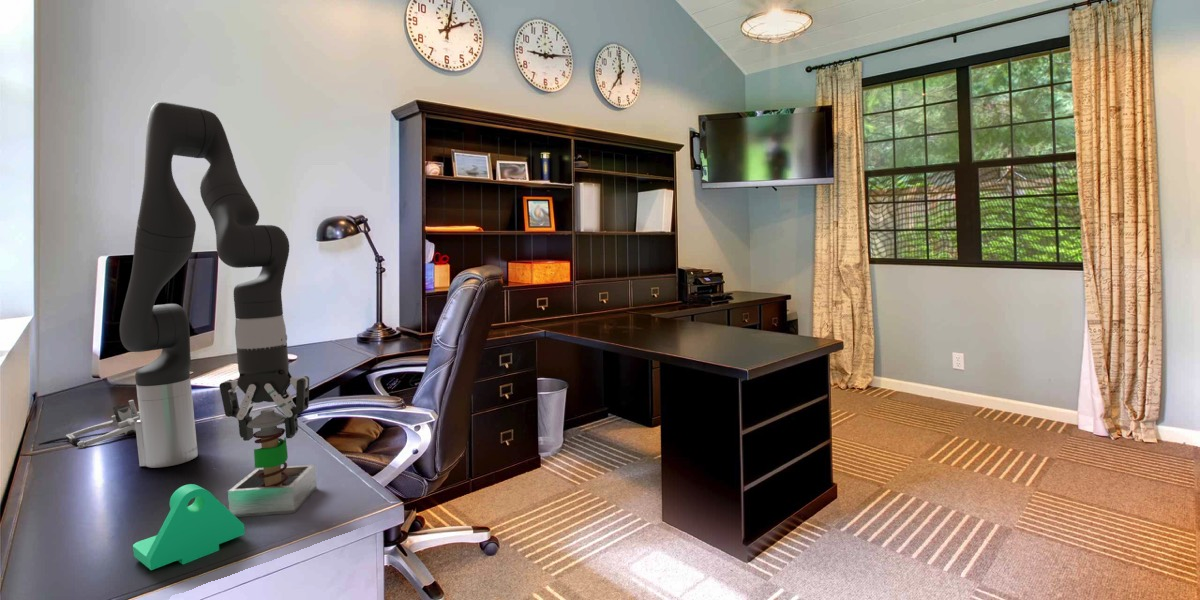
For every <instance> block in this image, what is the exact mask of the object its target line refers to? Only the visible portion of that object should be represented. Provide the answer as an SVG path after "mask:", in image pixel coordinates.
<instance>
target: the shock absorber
mask: <svg viewBox="0 0 1200 600" xmlns="http://www.w3.org/2000/svg"><path fill="white" fill-rule="evenodd" d="M284 418H286V415H285V414H281V413H279V412H276V411H275V409H273V408H269V409H263V410H261V411H260V414H258V415H257V416H255V417H254V418H252V420H251V421H249V422H248V424H247V426H248V427H249V428H253V429H260V430H258V431H256V432H253V438H254V439H255V440H254V444H260V445H261V448H255V449H253V457H254V458H253V459H254V468H255V469H256V468H264V472H263V473H260V474H258V477H259V478H264V479H265V483H264V484H261V485H260V486H259V487H274V486H289V484H287V483H283V482H285V481H286V480H287V478H288V474H287V473H285V472H282V471H284V470H285V469H286V467H287V466H288V463H287V460H288V457H289V455H288V448H287V447H288V446H287V438H286V436H285V437H284V438H283V439H282V436H283V435H284V434H285V433H286V431H285V428H283V427H278V426H280V425H283V424H284V425H285V419H284ZM281 465H283V466H281ZM281 467H283V468H282V469H281ZM281 474H283V475H284V476H285V478H284V479H283V480H282V476H281Z"/></svg>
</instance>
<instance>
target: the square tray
mask: <svg viewBox="0 0 1200 600" xmlns="http://www.w3.org/2000/svg"><path fill="white" fill-rule="evenodd" d="M283 467H284V466H281V469H282V468H283ZM263 472H264V468H255V469H254V470H253V471H252V472H250V473H249V474H248V475H246V476H245V477H244V478H243V479H241V480H239V482H238V483H236V484H235V485H234V486H232V487H231V488H230V489H228V490H227V498H228V500H227V501H228V510H229V511H230V512H231V513H232V514H233V515H234V516H235V517H237V518H245V517H257V516H270V515H272V516H273V515H285V514H287V515H288V514H295V513H296V512H297V511H298V510H299V509H300V507H302V505H303V504H305V502H306V501H307V500H308V498H310V496H312V494H313V493H314V492H315V491H316V490H317V489H318V485H317V484H318V483H317V474H316V473H317V471H316V464H304V465H303V464H302V465H290V466H288V465H287V467H286V469H285V470H284V471H282V472H285V473H287V474H288V478H287V480H286V481H285V482H283V483H287V484H289V486H274V487H259V486H260V485H261V484H264V483H265V479H264V478H259V477H258V474H260V473H263ZM281 476H282V480H283V479H284V478H285V476H284V475H283V474H281Z"/></svg>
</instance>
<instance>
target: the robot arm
mask: <svg viewBox="0 0 1200 600" xmlns="http://www.w3.org/2000/svg"><path fill="white" fill-rule="evenodd" d="M146 122H147V123H146V134H145V135H146V137H145V155H144V156H145V158H144V162H145V163H144V175H143V176H144V177H143V186H142V193H141V194H142V195H141V201H140V206H139V210H138V211H139V212H138V218H137V224H136V230H135V238H134V248H133V249H134V250H133V259H132V265H131V266H132V267H131V273H130V277H129V278H130V279H129V282H128V287H127V291H126V294H125V298H124V302H123V306H122V309H121V315H120V321H119V337H120V341H121V344H122V345H123V347H124V348H125V349H126V350H127V351H129V352H132V353H133V352H134V353H143V352H149V351H156V350H161V353H160V355H159V356H158V357H157V358H156V359H154V360H153V361H151V362H150V363H148V364H147V365H145V366H142V367H141V368H139V369H138V370H136V372H135V386H136V397H137V403H138V412H139V415H140V420H138V421H136V422H135V427H136V432H135V434H136V444H137V453H138V461H139V462H138V463H139V467H147V468H151V469H152V468H154V469H155V468H166V467H167V468H168V467H171V466H177V465H180V464H185V463H187V462H190V461H191V460H193V459H196V458H197V457H198V455H199V454H198V443H197V432H196V421H195V412H194V401H193V393H192V392H193V391H192V384H191V383H192V382H191V372H190V371H191V365H192V362H191V361H192V359H191V334H190V323H189V322H190V321H189V317H188V315H187V312H186V311H185V309H184V308H183V307H182V306H181V305H179V304H177V303H165V304H156V305H155V302H156V300H157V297H158V296H159V294H160V293H161V290H162V289H163V288H164V286H166V285H167V283H168V282H169V281H170V280H171V279H172V278H173V277H174V276H175V275H176V274H177V273H178V272H179V270H181V269H182V267H183V266H184V265H185V264H186V263H187V261H188V260H189V258H190V257H191V254H192V252H193V247H194V240H195V235H196V229H197V223H196V219H195V216H194V213H193V212H192V210H191V208H190V206H189V205H188V203H187V202H186V200H185V199H184V197H183V195H182V194H181V191H180V190H179V188H178V186H177V184H176V182H175V179H174V176H173V169H172V168H173V166H172V162H173V157H174V156H177V157H187V158H194V159H205V160H206V161H207V162H208V163H209V167H208V169H207V170H206V172H205V173H204V175H203V177H202V178H201V182H200V187H199V189H200V191H199V192H200V196H201V199H202V203H203V204H204V206H205V208H206V210H207V212H208V213H209V216H210V218H211V219H212V221H213V225H214V230H215V241H216V243H215V245H216V246H215V247H216V253H217V254H216V255H217V257H218V258H219V259H220V260H221V262H222V263H224V264H225V265H227V266H229V267H231V268H235V269H240V268H241V269H244V268H261V270H260V272H259V274H258V276H257V277H256V278H254V279H251V280H248V281H244V282H241V283H239V284H236V285H235V287H234V288H233V304H234V314H235V328H234V335H235V345H236V346H235V347H236V358H237V369H238V370H237V371H238V373H239V376H238V379H235V380H233V379H227V380H225V381H223V382H221V383H220V384H219V389H220V391H219V392H220V395H221V400H222V405H223V410H224V414H225V416H226V417H228V418H230V417H233V418H235V419H237V423H238V432H239V436H240V438H242V440H243V441H245V442H246V441H250V440H252V439H253V438H254V436H253V434H254V428H249V427H248V426H247V424H248V422H249V421H251V420H253V416H251V413H252V411H253V409H254V407H255V405H257V404H260V403H262V402H265V403H266V402H267V403H275V405H276V406H277V407H278V408H279V409H280V410H281V411H282V412H283V415H285V416H286V418H284V419H285V423H284V429H285V437H286V439H292V438H294V437H295V435H296V434H297V433H298V431H299V422H298V420H299V419H298V414H302V413H304V412H305V411H306V410H308V409H309V407H310V406H309V405H310V404H309V403H310V377H309V376H306V375H305V376H302V377H295V376H292V375H291V373H290V370H289V367H290V366H289V363H290V362H289V352H288V342H287V341H288V335H287V329H286V324H285V320H284V319H285V318H284V315H283V314H284V313H283V312H284V311H283V310H284V309H283V301H282V300H283V299H282V289H283V284H284V283H283V282H284V276H285V271H286V268H287V263H288V260H289V256H290V255H289V253H290V241H289V239H288V236H287V234H286V232H285V231H284V230H283V229H282V228H280V227H279V226H277V225H272V224H267V225H266V224H258V222H259V220H260V213H259V212H260V211H259V209H258V206H257V205H256V203H255V201H254V200H253V198H252V196H251V195H250V193H249V192H248V190H247V188H246V187H245V184H244V183H243V181H242V178H241V176H240V174H239V171H238V168H237V165H236V162H235V159H234V155H233V152H232V148H231V145H230V142H229V139H228V136H227V134H226V131H225V128H224V125H223V124H222V122H221V120H220V119H219V117H218V115H216V114H215V113H214V112H212V111H210V110H206V109H202V108H199V107H195V106H194V107H192V106H189V105H183V104H177V103H172V102H167V101H157V102H155V103H154V104H153V105H152V106H151V108H150V110H149V113H148V117H147V121H146ZM291 385H292V388H293V389H294V391H296V392H295V393H296V395H295V402H294V401H293V396H291V393H290V392H289V391H288V389H289V387H290V386H291ZM239 389H240V390H241V391H242V392H243V393H244V394H245V395H244V397H243V399H242V401H241V402H240V405H239V400H238V394H237V392H238V390H239Z"/></svg>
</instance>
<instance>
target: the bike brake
mask: <svg viewBox="0 0 1200 600" xmlns="http://www.w3.org/2000/svg"><path fill="white" fill-rule="evenodd" d="M128 404H129V405H128V406H127V405H126V404H125V403H122V404H120V405H117V406H113V407H112V410H113V413H114V415H112V416H111V420H109V421H108V420H107V421H105V422H102V423H101V422H100V423H98V424H95V425H92V426H89V427H85V428H83V429H79V430H76V431H74V432H71V433H67V434H65V437H60V438H55V439H50V440H47V441H44V442H43V441H42V442H39V443H38V446H42V445H47V444H50V443H55V442H59V441H68V442H70V444H72V445H76V446H77V448H78V449H83V448H84V449H85V448H86V447H87V446H90V445H94V444H97V443H100V442H103V441H106V440H109V439H111V438H113V437H117V436H119V435H122V434H124V435H125V436H126V435H130V434H133V433H136V427H135V422H136V421H138V420H140V415H139V411H138V409H137V407H136V404H135V400H134V399H130V400H128ZM114 426H118V428H116V429H113V430H112V431H109V432H108V433H104V434H103V435H99V436H97V437H96V436H95V437H93V438H89V439H87V440H81V439H79V438H77V437H80V436H82V435H85V434H89V433H92V432H95V431H99V430H102V429H108V428H111V427H114Z"/></svg>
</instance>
